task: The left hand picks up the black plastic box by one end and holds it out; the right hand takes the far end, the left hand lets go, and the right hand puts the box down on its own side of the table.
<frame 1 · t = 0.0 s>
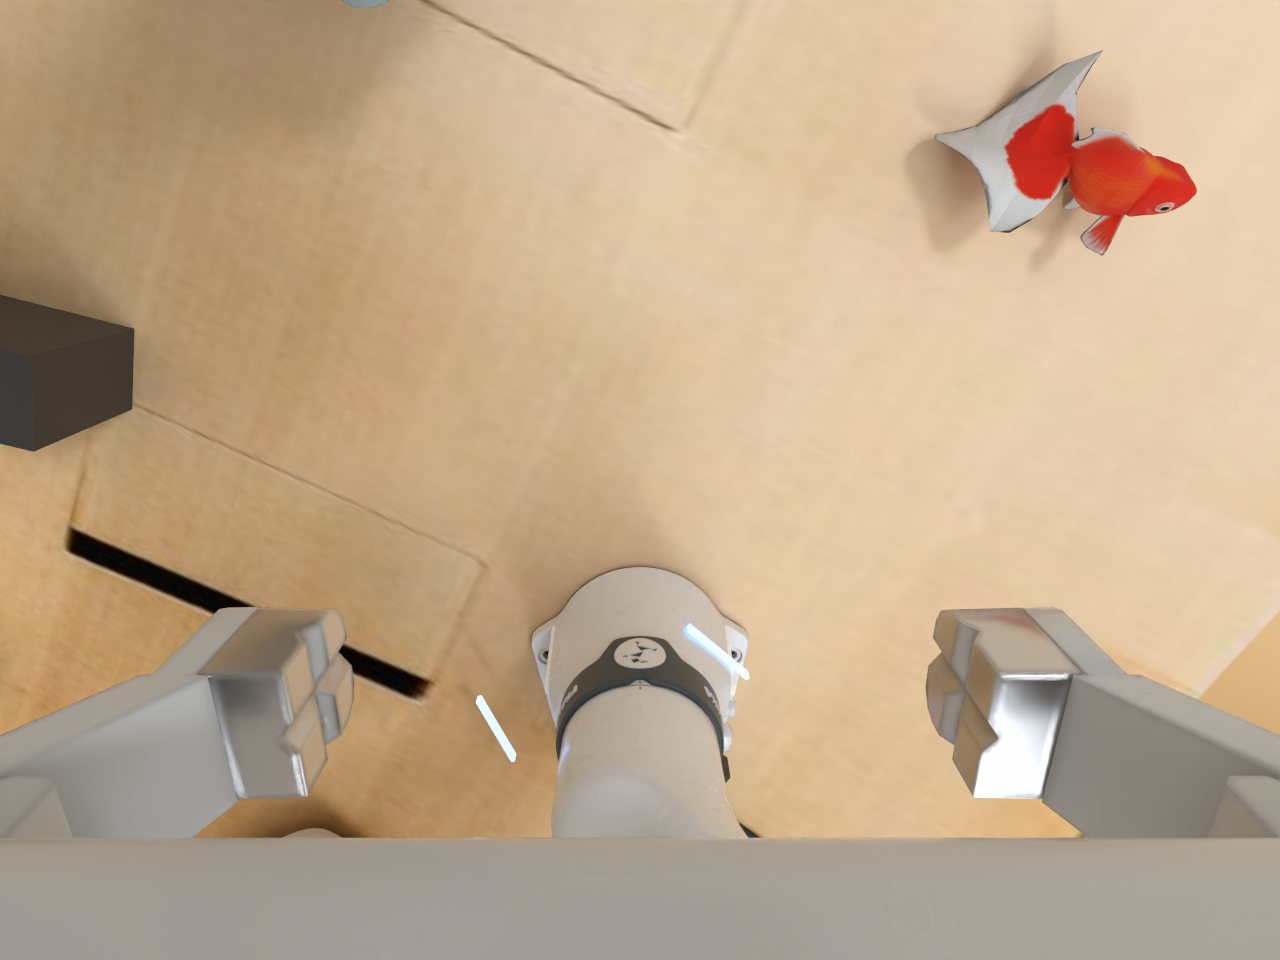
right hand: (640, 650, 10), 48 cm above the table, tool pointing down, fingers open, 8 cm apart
fish: (1027, 169, 53), on the table
grey rounded piece: (346, 898, 77), on the table
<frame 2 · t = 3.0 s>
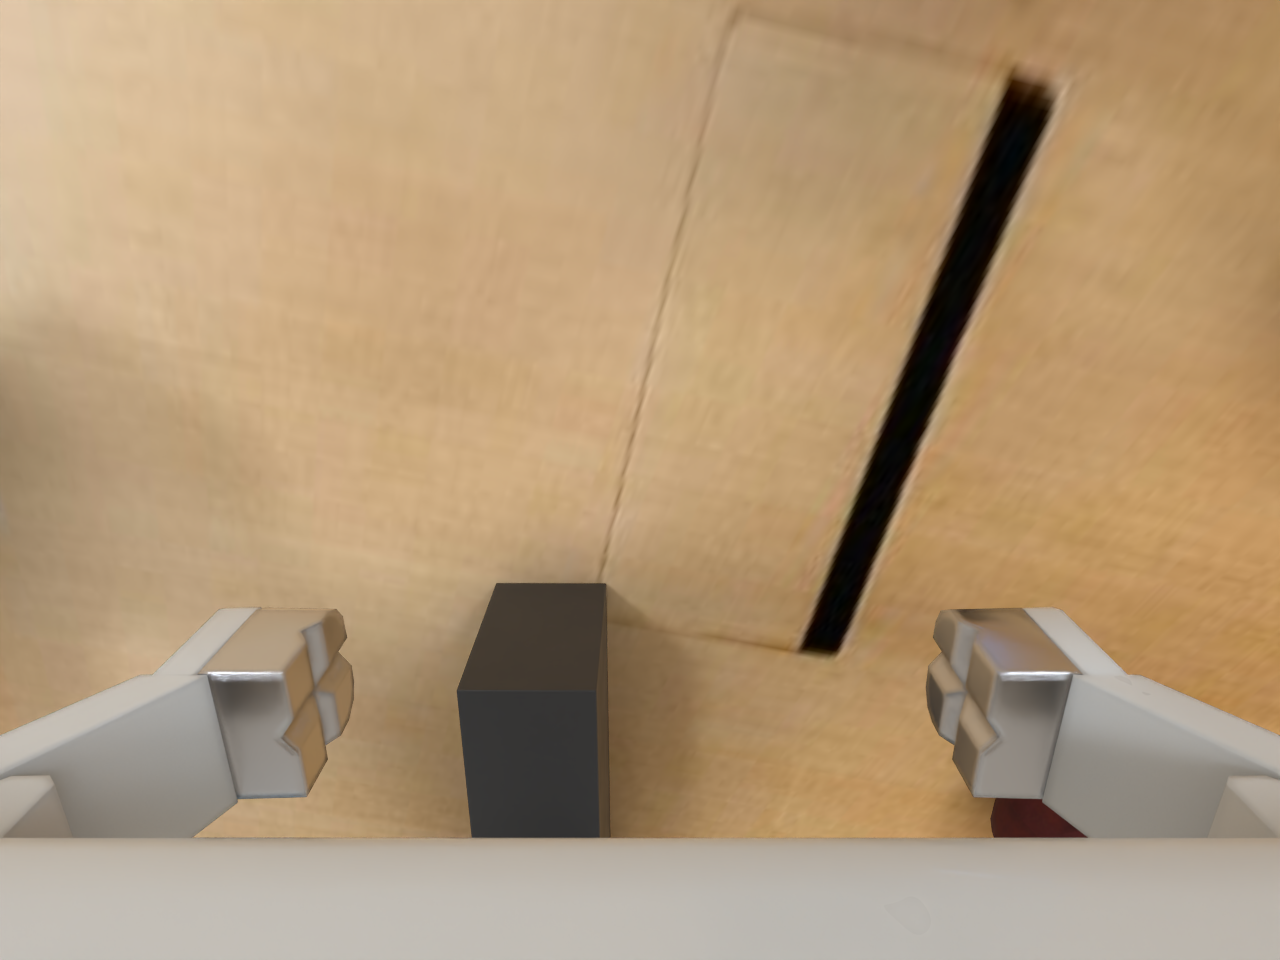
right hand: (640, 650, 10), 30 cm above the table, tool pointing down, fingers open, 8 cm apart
box: (559, 755, 49), on the table, touching left hand
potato: (1027, 783, 50), on the table
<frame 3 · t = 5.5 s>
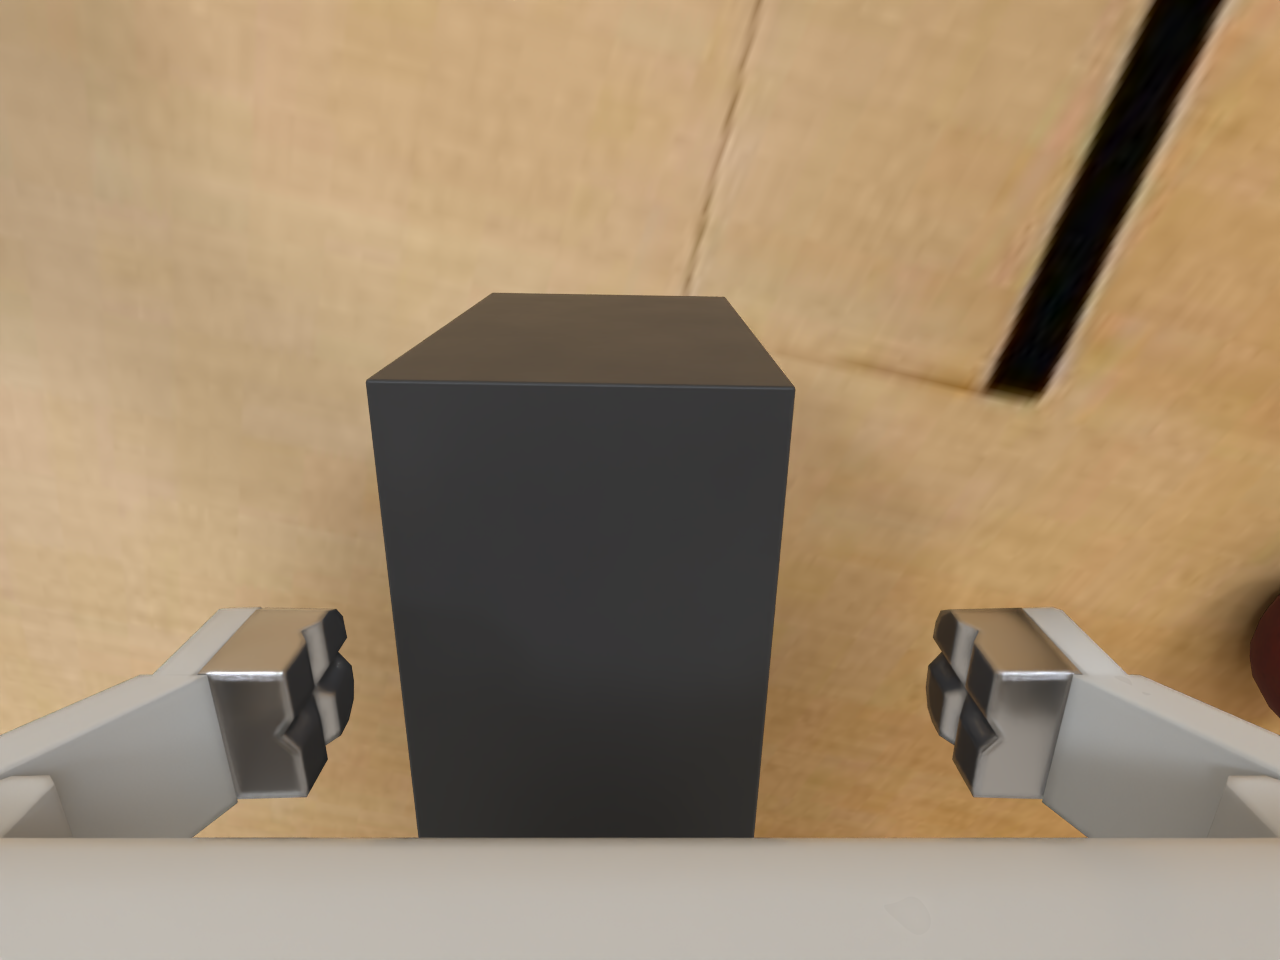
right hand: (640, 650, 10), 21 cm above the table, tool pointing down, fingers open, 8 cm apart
box: (607, 679, 25), point 9 cm above the table, touching left hand
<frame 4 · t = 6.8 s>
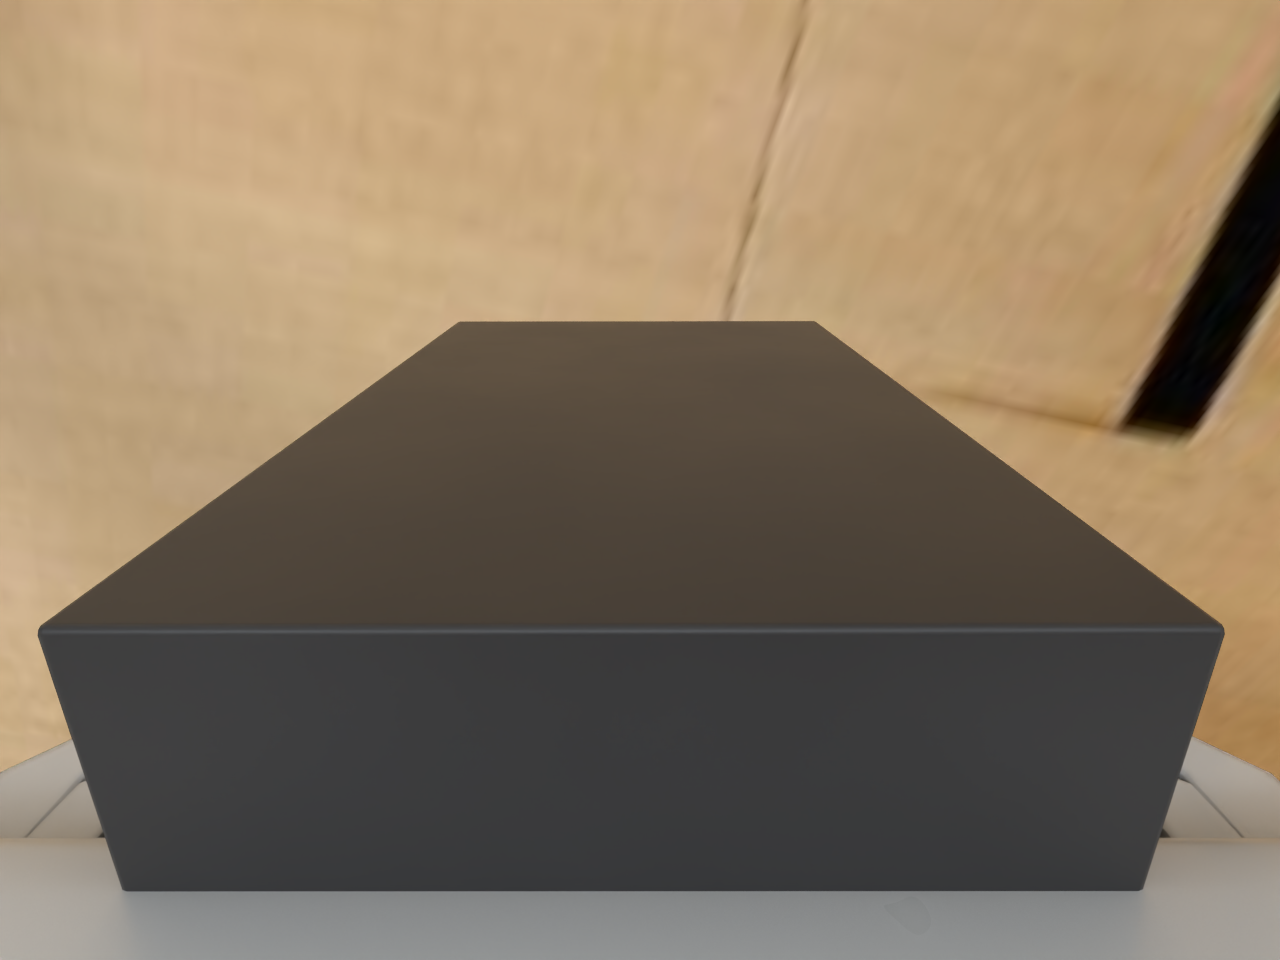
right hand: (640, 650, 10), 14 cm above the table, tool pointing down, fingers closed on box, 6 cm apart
box: (638, 852, 18), point 9 cm above the table, touching right hand, left hand
when the left hand's fingers open (9 cm above the table, at t = 8.0 s): box stays where it is, held by the right hand.
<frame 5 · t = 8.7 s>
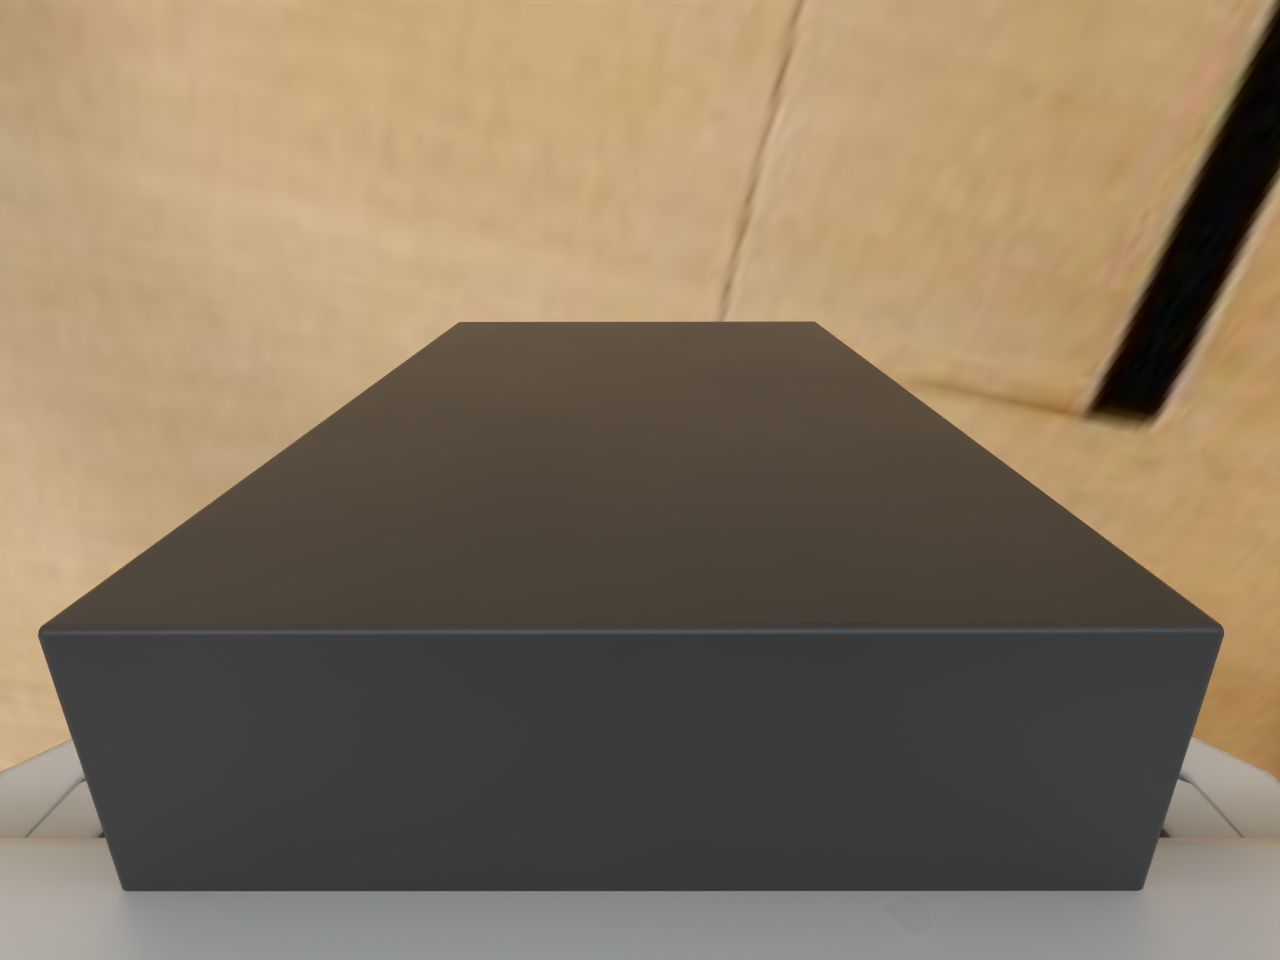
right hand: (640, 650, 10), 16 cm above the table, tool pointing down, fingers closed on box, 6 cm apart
box: (638, 853, 18), point 11 cm above the table, touching right hand
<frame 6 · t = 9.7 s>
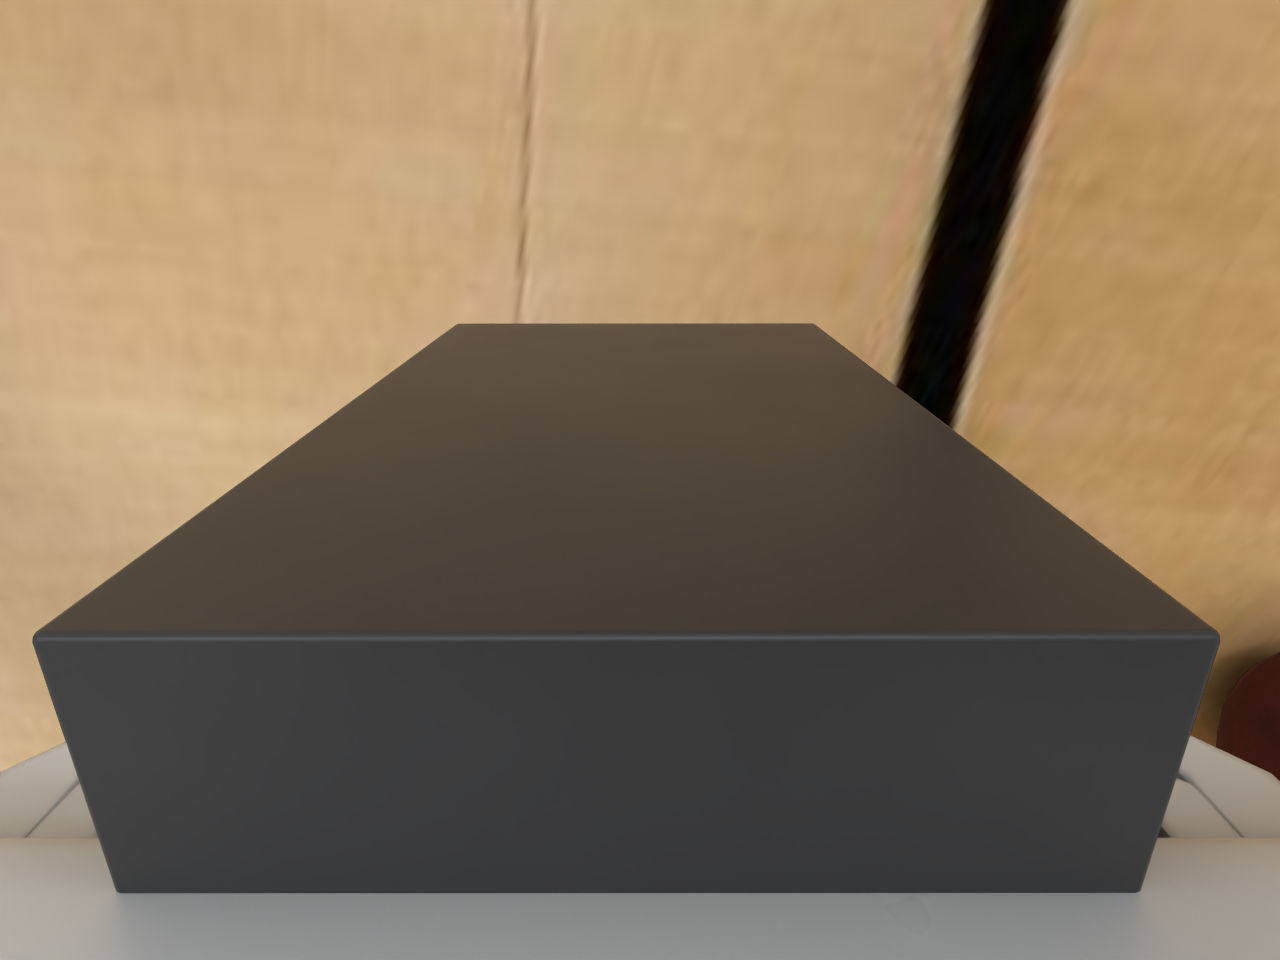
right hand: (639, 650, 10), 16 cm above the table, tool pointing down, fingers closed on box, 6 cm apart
box: (636, 854, 18), point 12 cm above the table, touching right hand
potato: (1262, 689, 30), on the table
when the right hand's fingers open (6 cm above the table, at t = 12.9 s): box stays where it is, resting on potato.
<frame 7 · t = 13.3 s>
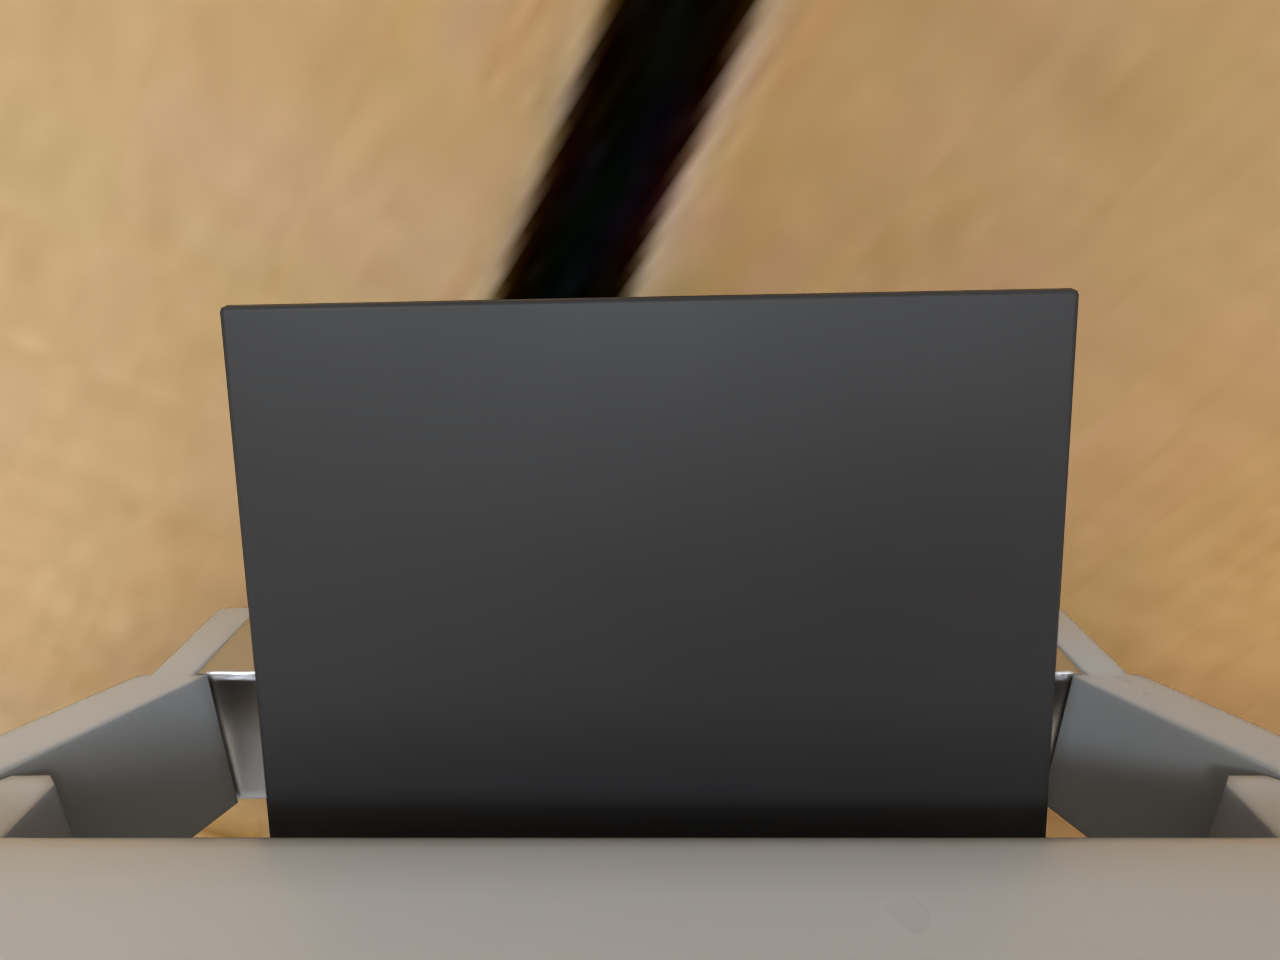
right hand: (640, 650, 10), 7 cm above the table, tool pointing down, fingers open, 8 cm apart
box: (655, 898, 18), point 3 cm above the table, tilted 13°, touching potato
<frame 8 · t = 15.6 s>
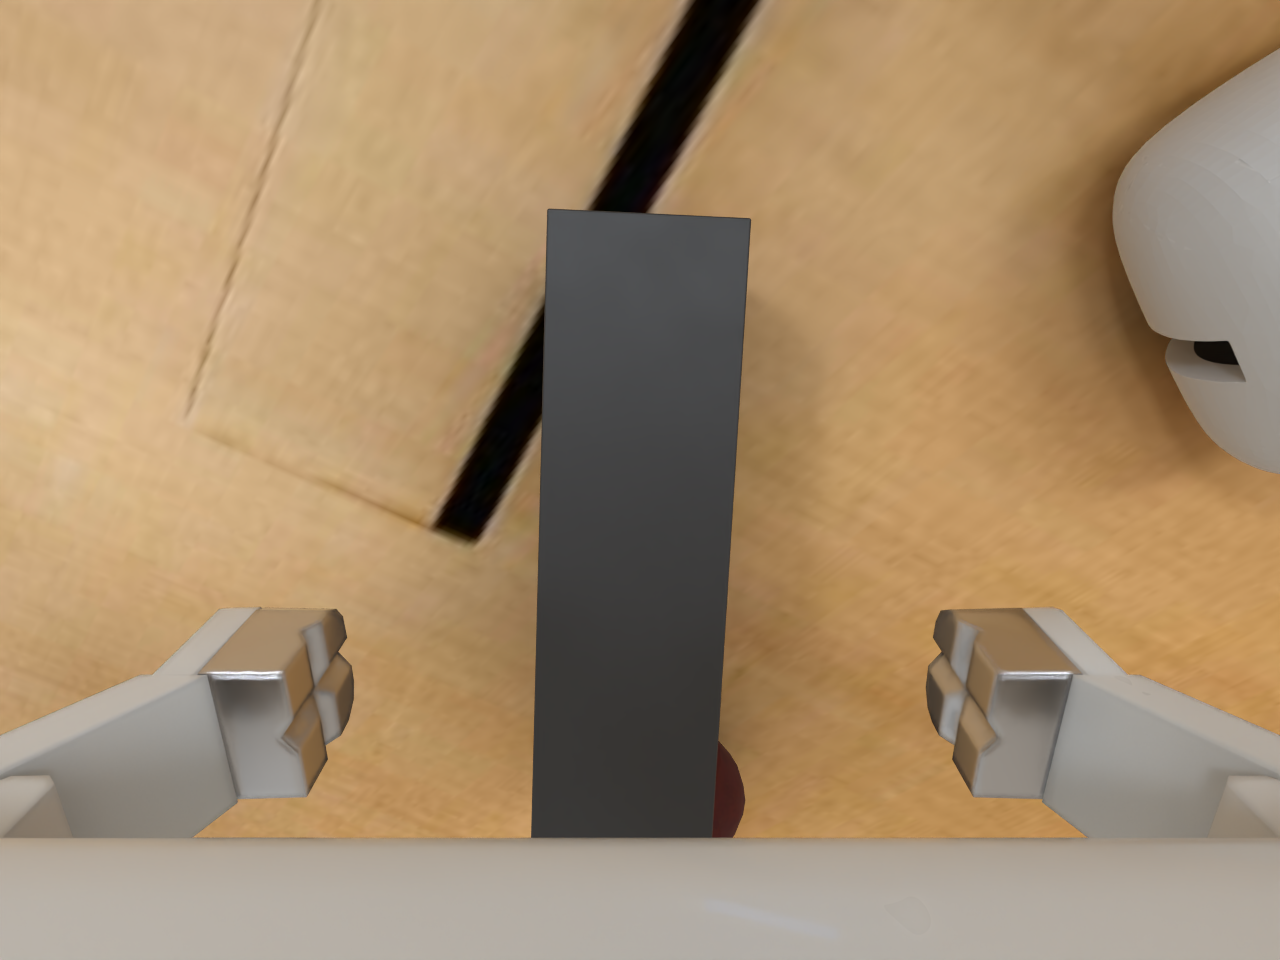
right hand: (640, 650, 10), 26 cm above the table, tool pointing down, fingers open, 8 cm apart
box: (632, 534, 36), point 3 cm above the table, tilted 13°, touching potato
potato: (672, 748, 44), on the table, touching box
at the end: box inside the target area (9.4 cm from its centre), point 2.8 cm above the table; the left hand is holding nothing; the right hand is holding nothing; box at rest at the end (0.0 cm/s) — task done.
